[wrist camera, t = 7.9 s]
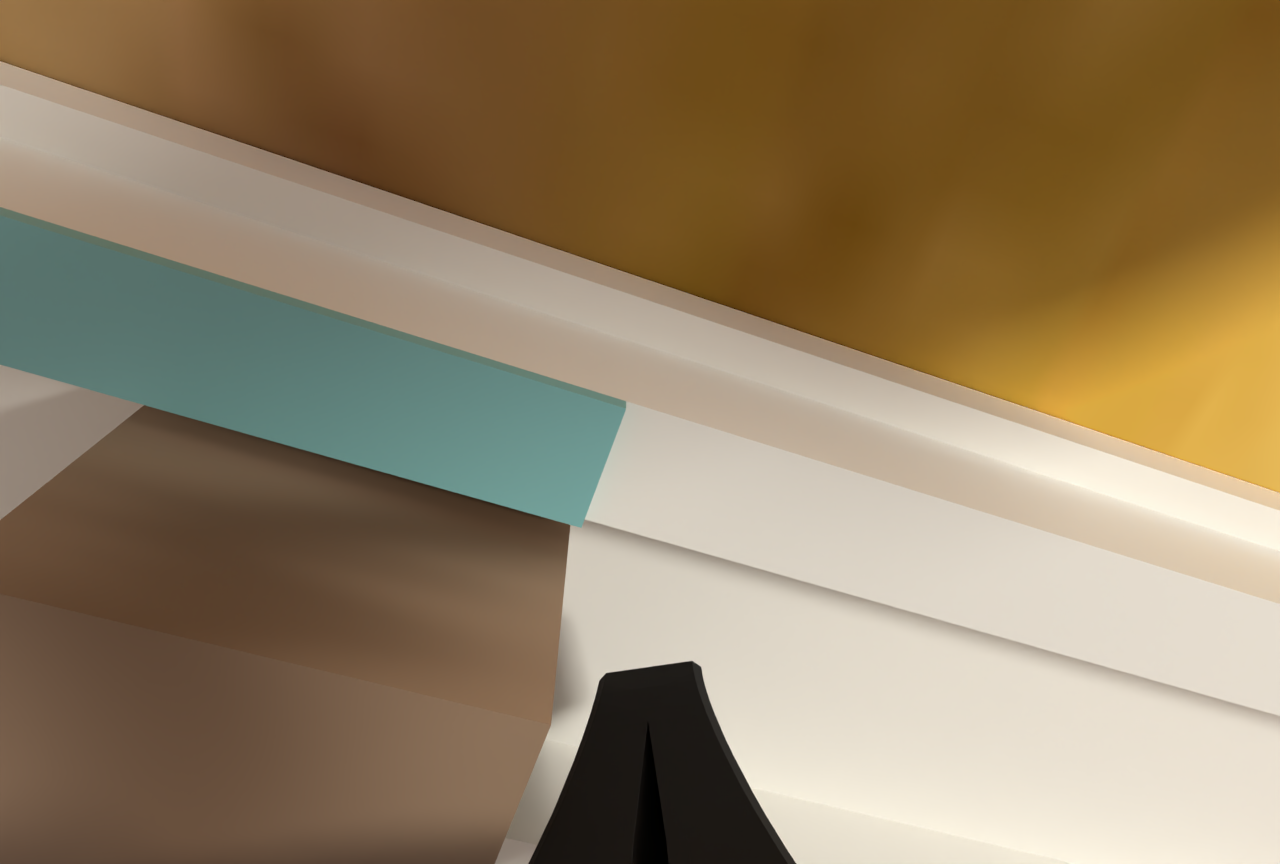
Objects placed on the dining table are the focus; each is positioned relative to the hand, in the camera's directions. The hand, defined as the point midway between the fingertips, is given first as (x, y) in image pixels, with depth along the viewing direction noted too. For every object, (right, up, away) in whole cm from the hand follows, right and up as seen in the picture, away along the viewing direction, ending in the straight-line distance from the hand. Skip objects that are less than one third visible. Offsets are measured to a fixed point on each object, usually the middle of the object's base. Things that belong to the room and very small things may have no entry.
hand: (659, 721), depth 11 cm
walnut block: (-4, +2, +1) cm, 5 cm away
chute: (+2, +1, +3) cm, 4 cm away
